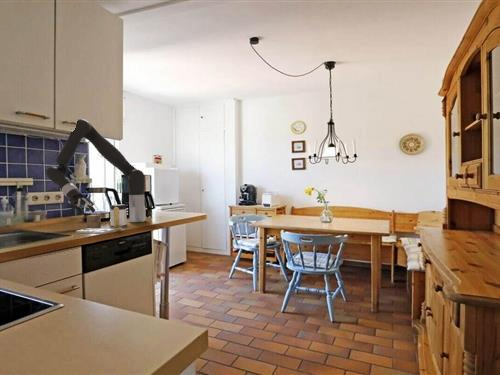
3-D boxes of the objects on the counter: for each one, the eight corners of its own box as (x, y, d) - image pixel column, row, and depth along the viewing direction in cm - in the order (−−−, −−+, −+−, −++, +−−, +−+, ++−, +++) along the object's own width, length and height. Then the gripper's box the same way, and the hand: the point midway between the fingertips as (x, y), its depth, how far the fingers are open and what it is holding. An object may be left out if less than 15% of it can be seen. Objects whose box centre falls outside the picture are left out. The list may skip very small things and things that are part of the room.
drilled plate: (88, 230, 172) (88, 228, 172) (114, 231, 167) (114, 229, 167) (76, 232, 164) (76, 230, 164) (103, 233, 159) (103, 231, 159)
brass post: (116, 228, 175) (115, 206, 175) (123, 228, 174) (122, 206, 173) (110, 230, 171) (110, 207, 170) (117, 230, 169) (116, 207, 169)
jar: (112, 226, 184) (111, 205, 183) (109, 224, 191) (108, 204, 190) (128, 225, 189) (127, 204, 188) (125, 223, 196) (124, 204, 195)
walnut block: (93, 226, 185) (93, 214, 184) (100, 226, 183) (100, 214, 183) (87, 228, 180) (86, 215, 180) (94, 228, 178) (93, 215, 178)
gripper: (65, 188, 178) (82, 209, 175) (85, 187, 191) (101, 206, 188) (58, 197, 179) (74, 218, 176) (78, 196, 193) (94, 215, 190)
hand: (88, 212), depth 182 cm, fingers open, 8 cm apart
